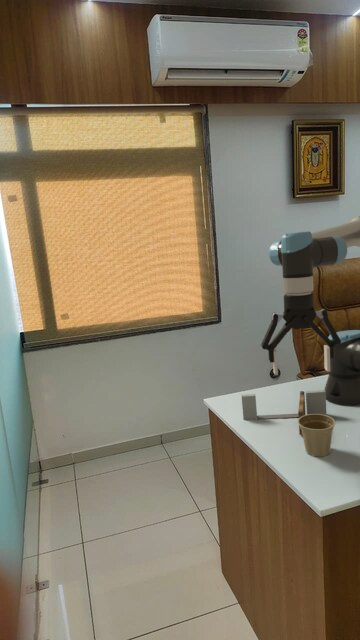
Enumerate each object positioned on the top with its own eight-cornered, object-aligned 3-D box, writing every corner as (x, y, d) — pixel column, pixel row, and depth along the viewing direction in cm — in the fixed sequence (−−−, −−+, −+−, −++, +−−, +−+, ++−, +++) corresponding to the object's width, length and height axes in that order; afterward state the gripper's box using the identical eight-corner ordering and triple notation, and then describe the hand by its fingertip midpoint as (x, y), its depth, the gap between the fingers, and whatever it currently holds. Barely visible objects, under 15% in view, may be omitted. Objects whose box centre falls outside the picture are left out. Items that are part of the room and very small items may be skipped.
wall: (325, 413, 132) (324, 389, 131) (326, 416, 130) (325, 392, 128) (243, 417, 136) (241, 394, 134) (243, 420, 133) (241, 397, 132)
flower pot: (312, 464, 105) (310, 432, 103) (292, 447, 114) (290, 418, 112) (344, 455, 107) (343, 424, 106) (322, 439, 116) (320, 411, 115)
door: (301, 413, 133) (299, 391, 131) (309, 414, 132) (308, 391, 131) (299, 435, 119) (297, 410, 118) (308, 435, 119) (306, 410, 117)
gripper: (343, 287, 109) (344, 364, 113) (248, 295, 111) (252, 370, 115) (353, 290, 102) (354, 373, 106) (251, 299, 104) (256, 379, 108)
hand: (301, 371), depth 110 cm, fingers open, 13 cm apart
